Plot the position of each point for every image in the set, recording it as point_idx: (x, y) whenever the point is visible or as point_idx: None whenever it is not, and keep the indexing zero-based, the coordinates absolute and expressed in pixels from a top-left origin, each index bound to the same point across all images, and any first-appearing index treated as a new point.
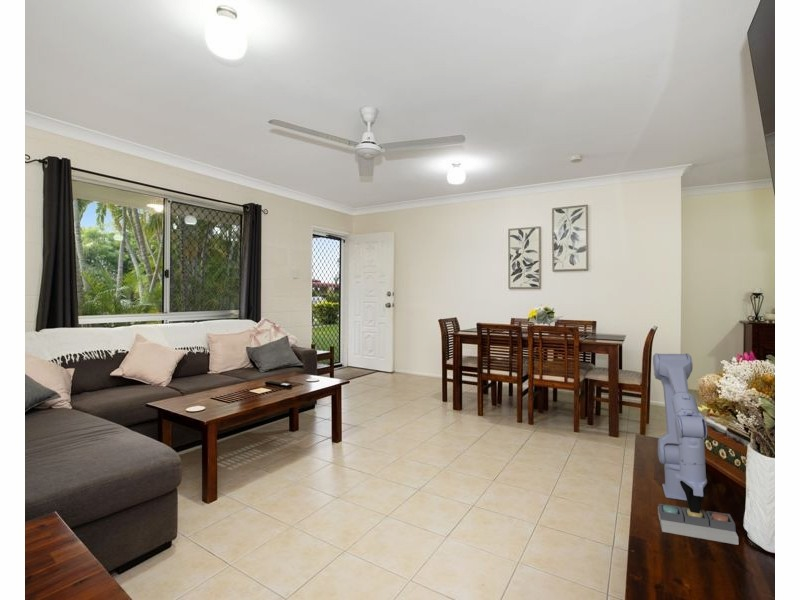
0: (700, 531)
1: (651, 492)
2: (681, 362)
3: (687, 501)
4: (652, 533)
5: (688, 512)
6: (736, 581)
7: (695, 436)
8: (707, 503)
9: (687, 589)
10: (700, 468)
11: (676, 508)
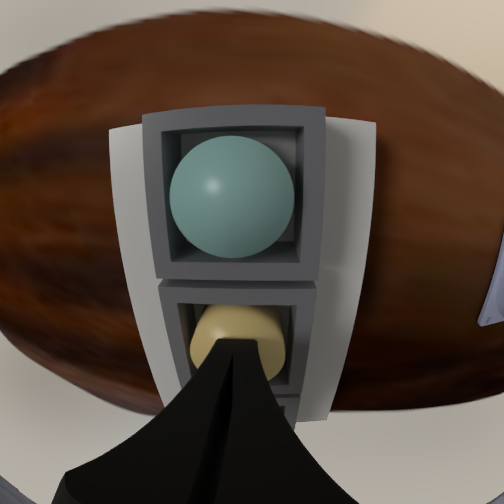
0: (136, 317)
1: None
2: None
3: (235, 379)
4: (100, 91)
5: (210, 322)
6: (6, 318)
7: None
8: (466, 349)
9: None
10: None
11: (245, 250)
